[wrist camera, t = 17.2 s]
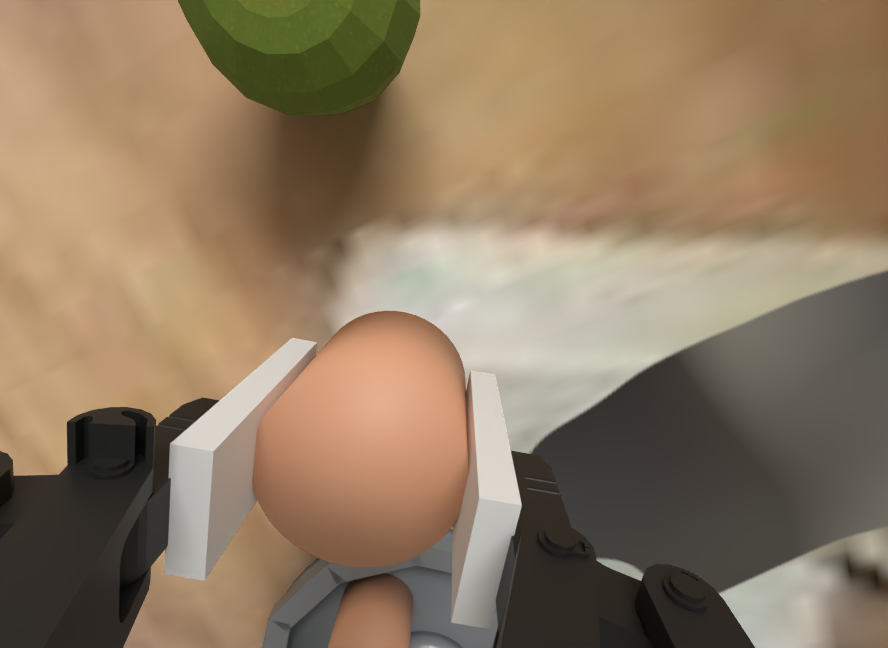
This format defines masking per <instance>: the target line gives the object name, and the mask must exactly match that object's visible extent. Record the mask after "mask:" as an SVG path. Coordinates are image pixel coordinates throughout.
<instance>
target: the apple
mask: <svg viewBox="0 0 888 648" xmlns="http://www.w3.org/2000/svg"><path fill="white" fill-rule="evenodd" d="M178 2H179V4H180V6H181V8H182V10H183V13H184V15H185V17H186V19H187V21H188V23H189V24H190V26H191V28H192V30H193V31H194V33H195V35H196V37H197V38H198V40H199V42H200V43H201V45H202V47H203V49H204V50H205V52H206V54H207V55H208V57H209V59H210V61H211V62H212V64H213V65H214V66H215V67H216V68H217V69H218V70H219V71H220V72H221V73H222V74H223V75H224V76H225V77H226V78H227V79H228V80H229V81H230V82H231V83H232V84H233V85H234V86H235V87H236V88H237V89H238V90H239V91H240V92H241V93H242V94H243V95H244V96H245V97H246V98H248V99H251V100H253V101H256V102H258V103H261V104H263V105H265V106H268V107H270V108H273V109H275V110H277V111H280V112H282V113H285V114H287V115H300V116H315V115H329V114H342V113H345V112H347V111H350V110H352V109H355V108H357V107H360V106H362V105H365V104H367V103H370V102H373V101H375V100H376V99H377V97H378V96H379V95H380V94H381V93H382V92H383V91H384V89H385V88H386V87H387V86H388V85H389V84H390V83H391V82H392V80H393V79H394V78H395V77H396V76H397V75H398V74H399V72H400V70H401V67H402V65H403V62H404V60H405V57H406V55H407V52H408V50H409V48H410V45H411V43H412V40H413V38H414V35H415V32H416V28H417V25H418V21H419V18H420V0H178Z"/></svg>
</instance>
